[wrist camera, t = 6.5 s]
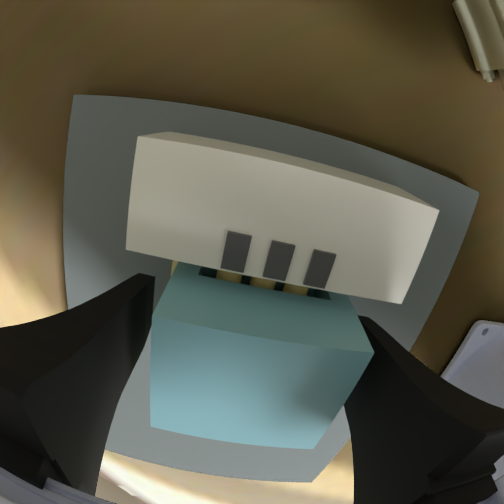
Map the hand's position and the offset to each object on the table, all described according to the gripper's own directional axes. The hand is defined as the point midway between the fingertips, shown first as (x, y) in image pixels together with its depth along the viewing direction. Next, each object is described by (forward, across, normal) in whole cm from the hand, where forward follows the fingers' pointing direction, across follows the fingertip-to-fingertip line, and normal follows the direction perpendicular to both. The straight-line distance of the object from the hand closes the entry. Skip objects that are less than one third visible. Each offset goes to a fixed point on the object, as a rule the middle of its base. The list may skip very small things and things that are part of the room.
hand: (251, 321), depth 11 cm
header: (+1, 0, -3) cm, 3 cm away
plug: (+1, 0, 0) cm, 1 cm away
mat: (+2, 0, +4) cm, 5 cm away
